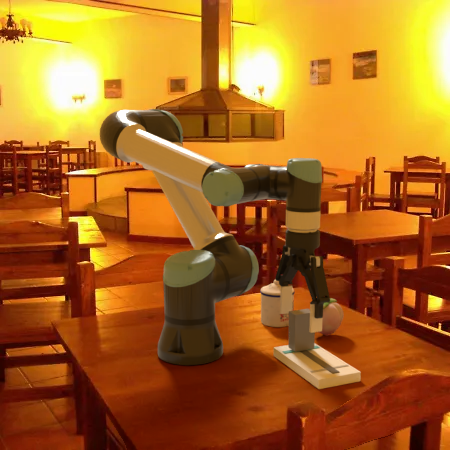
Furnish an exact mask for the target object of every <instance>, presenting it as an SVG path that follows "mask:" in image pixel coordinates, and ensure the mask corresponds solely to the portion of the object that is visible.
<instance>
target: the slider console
mask: <svg viewBox="0 0 450 450" xmlns="http://www.w3.org/2000/svg"><path fill="white" fill-rule="evenodd" d="M273 357H274V358H276V359H277V360H279V361H280V362H281V363H283V364H284V365H286V366H287V367H288V368H289V369H291V370H292V371H293V372H295V373H296V374H297V375H298V376H300V377H301V378H303V379H305V380H306V381H307V382H308V383H310V385H312V386H313V387H315V388H317V389H318V390H323V389H326V388H332V387H337V386H342V385H347V384H353V383H359V382H361V379H362V377H361V373H362V372H361V371H360V370H358V369H357V368H355V367H354V366H352V365H350V364H349V363H347V362H345V361H344V360H342V359H341V358H339V357H337V356H336V355H334V354H332V353H331V352H330V351H328V350H327V349H324V348H323V347H322V346H320V345H318V344H317V343H315V342H314V349H308V350H302V351H296V352H295V351H293V350H292V349H290V348H289V347H288V344H287V345H280V346H274V347H273Z"/></svg>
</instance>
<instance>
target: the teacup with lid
mask: <svg viewBox="0 0 450 450" xmlns="http://www.w3.org/2000/svg"><path fill="white" fill-rule="evenodd" d="M280 294H281V285H279V281H276V279H274V280H273V283H272V282H271V283H270V284H268V285H264V286H262V287H261V288H260V322H261V323H262V325H264V326H267V327H272V328H284V327H289V313H287V314H280ZM294 296H295V289H294V288H293V287H292V311H294V307H295V306H294V305H295V303H294V301H295V299H294V298H295V297H294Z"/></svg>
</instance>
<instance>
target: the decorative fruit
mask: <svg viewBox="0 0 450 450" xmlns="http://www.w3.org/2000/svg"><path fill="white" fill-rule="evenodd" d="M337 302H338V300H337V299H335V298H332V297H330V302H327V303H324V304H323V318H322V331H320V332H318V333H319V334H322V335H324V336H326V337H328V336H330V335H331V334H334V333H335V332H336V331H337V330H338V329H339V327H340V326H341V325H342V323H343V320H344V316H345V315H344V310H343V308H342V306H341V304H339V303H337Z"/></svg>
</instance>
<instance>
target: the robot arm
mask: <svg viewBox="0 0 450 450" xmlns="http://www.w3.org/2000/svg"><path fill="white" fill-rule="evenodd" d="M100 125H101V126H100V127H99V128H100V129H99V140H100V144H101V146H102V148H103V149H104V150H105V151H106V152H107V153H108V154H109V155H111V156H112V157H114V158H115V159H118V160H120V161H122V162H125V163H133V162H135V163H136V164H139V165H141V166H142V168H143V169H145V170H149V171H151V172H152V173H153V175H154V177H155V179H156V181H157V183H158V185H159V186H160V188H161V190H162V192H163V193H164V196H165V198H166V199H167V201H168V203H169V205H170V207H171V208H172V210H173V212H174V214H175V216H176V218H177V219H178V222H179V223H180V225H181V227H182V230H183V231H184V233H185V234H186V236H187V238H188V239H189V242H190V244H191V246H192V247H193V249H190V250H184V251H183V250H182V251H180V252H177V253H173V254H172V255H170V256H169V257H167V258H166V259H165V262H164V265H163V275H162V280H163V300H164V301H163V305H164V306H163V307H164V308H163V309H164V312H163V313H164V323H163V325H162V328H161V329H162V330H161V333H160V336H159V339H158V342H157V355H158V358H159V359H160V360H162V361H163V362H166V363H169V364H173V365H179V366H197V365H204V364H208V363H212V362H214V361H216V360H218V359H220V358H221V357H222V356H223V353H224V345H223V340H222V337H221V333H220V331H219V329H218V325H217V322H216V303H219V302H222V301H225V300H227V299H230V298H234V297H239V296H241V295H242V294H244V293H246V292H248V291H250V290H251V289H253V287H254V285H255V284H256V283H257V280H258V275H259V268H260V267H259V266H260V265H259V262H258V259H257V256H256V254H255V252H254V251H253V250H252V249H250V248H249V247H247V246H244V245H239V243H238V242H237V240H236V238H235V237H234V235H233V234H231V233H227V232H225V231H224V229H223V228H222V225H221V223H220V222H219V219H218V218H217V216H216V214H215V212H214V211H213V210H212V207H211V206H210V205H212V206H215V207H230V206H233V205H238V204H243V203H247V202H255V201H260V200H278V201H285V206H286V207H285V208H286V209H285V227H286V230H285V237H284V238H285V240H284V241H285V242H284V243H285V244H284V245H283V246H282V251H281V253H282V254H281V257H280V260H279V264H278V267H277V271H276V274H275V279H276V281H279V285H281V294H280V314H287V313H289V311H292V288H293V284H294V283H293V280H294V278H295V277H296V275H297V272H300V274H301V276H302V277H303V278H304V279H305V282H306V286H307V288H308V292H309V295H310V298H311V301H310V302H309V305H310V306H309V309H310V328H309V332H311V333H313V332H315V333H319V332H320V331H322V318H323V304H324V303H327V302H330V298H331V296H330V291H329V287H328V283H327V278H326V273H325V269H324V258H323V256H322V255H321V256H320V255H318V256H316V255H315V254H316V253H315V250H316V249H318V248H319V247H320V245H321V244H320V243H321V238H320V237H321V231H320V230H319V229H320V228H321V216H322V213H321V201H322V185H323V184H322V183H323V176H322V175H323V173H322V171H323V169H322V168H323V166H322V162H321V161H320V160H319V159H317V158H311V157H309V158H306V157H305V158H304V157H292V158H290V159H288V160H287V163H286V165H285V166H280V165H269V164H268V165H267V164H262V163H256V164H255V163H254V164H253V163H252V164H251V163H250V164H247V165H245V166H244V167H235V168H234V167H231V166H228V165H226V164H224V163H221V162H220V161H217V160H215V159H213V158H211V157H207V156H205V155H203V154H200V153H198V152H195V151H193V150H190V149H188V148H186V147H184V145H183V142H184V141H183V140H184V136H183V134H184V130H183V127H182V124H181V122H180V120H178V118H177V117H176V116H175V115H174V114H173V113H170V112H169V111H166V110H163V109H161V110H160V109H157V108H156V109H154V108H153V109H148V110H142V109H119V110H116V111H114V112H111V113H110V114H108V115H107V116H106V117H105V118H104V119H103V121H102V123H101V124H100ZM275 279H274V280H275Z"/></svg>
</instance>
